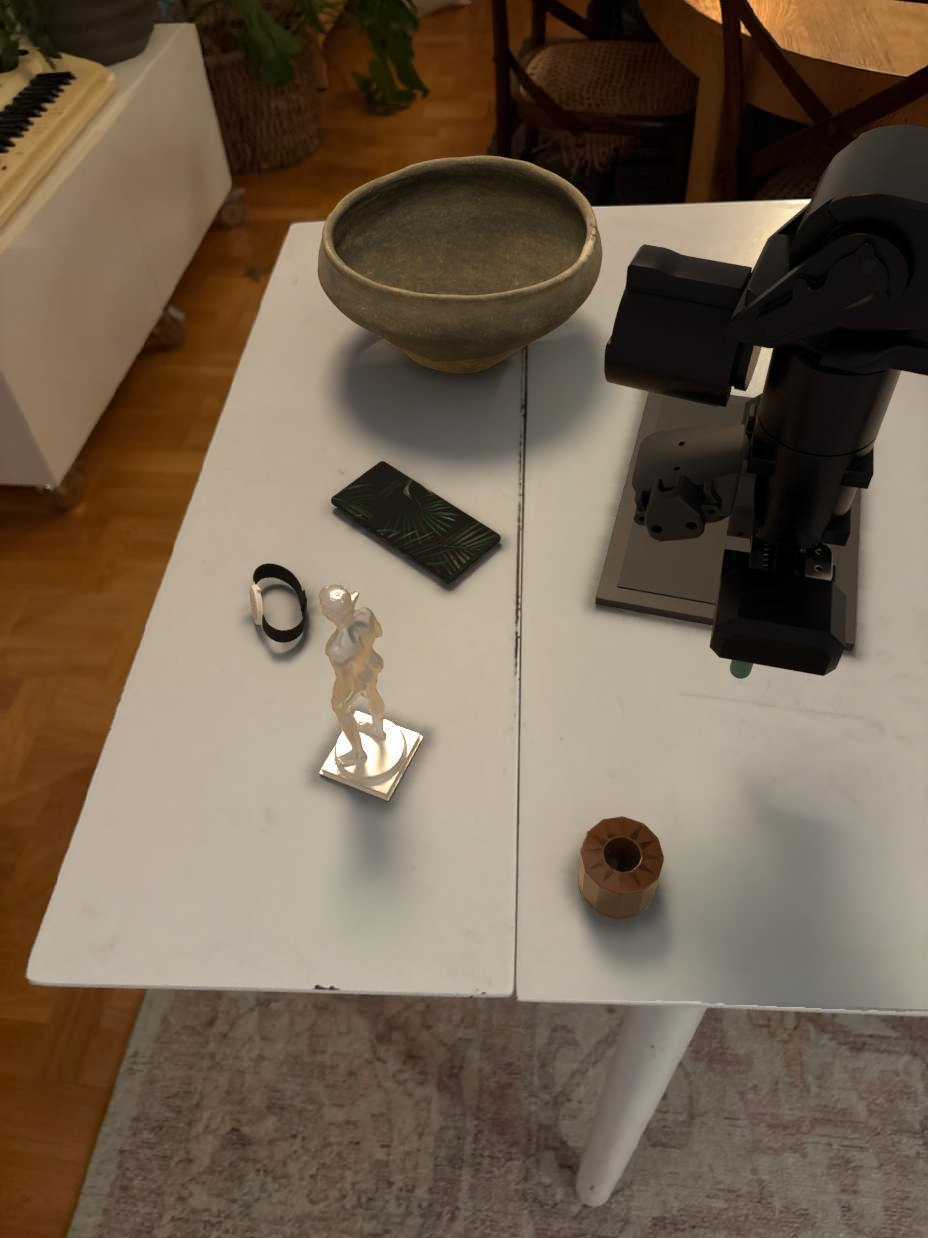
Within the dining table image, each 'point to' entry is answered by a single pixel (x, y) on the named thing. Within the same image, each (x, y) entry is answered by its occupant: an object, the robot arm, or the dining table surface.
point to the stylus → (740, 669)
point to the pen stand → (619, 867)
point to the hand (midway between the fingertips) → (757, 614)
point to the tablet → (691, 568)
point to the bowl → (461, 258)
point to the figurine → (367, 743)
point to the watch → (257, 606)
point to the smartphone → (416, 521)
